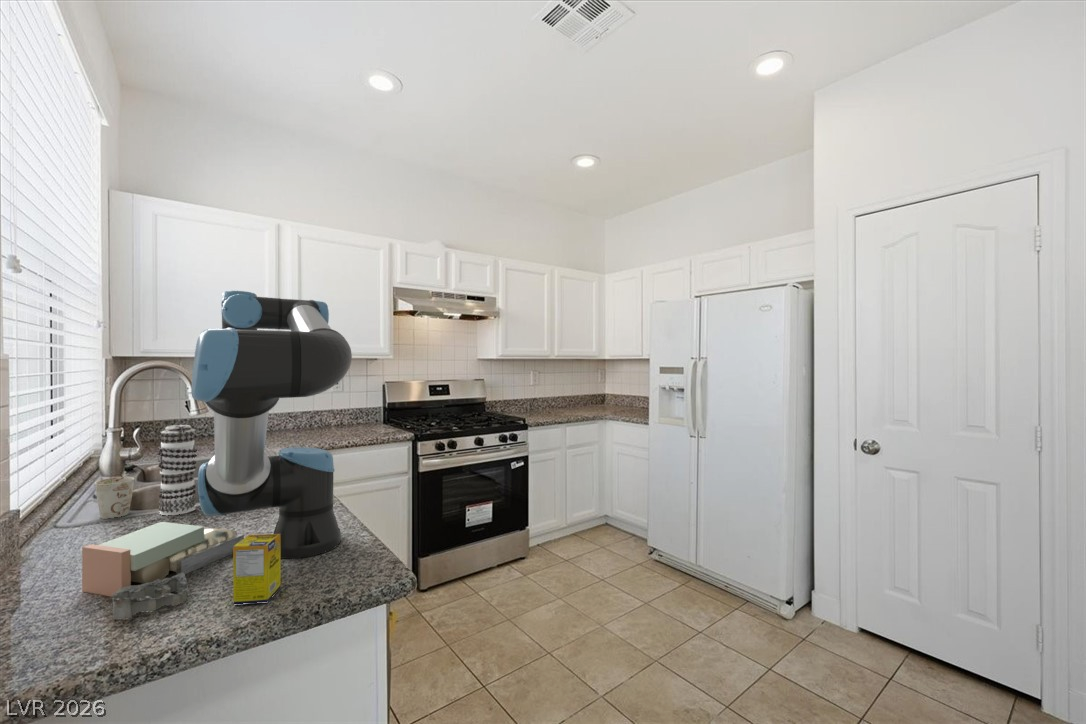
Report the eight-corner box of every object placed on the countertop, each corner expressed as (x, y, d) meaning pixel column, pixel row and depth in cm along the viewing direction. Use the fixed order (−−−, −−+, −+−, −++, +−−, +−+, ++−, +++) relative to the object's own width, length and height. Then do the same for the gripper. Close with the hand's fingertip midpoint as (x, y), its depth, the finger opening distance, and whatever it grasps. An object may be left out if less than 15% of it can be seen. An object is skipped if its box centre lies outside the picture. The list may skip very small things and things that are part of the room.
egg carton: (109, 625, 79) (109, 601, 79) (112, 607, 85) (112, 584, 85) (188, 604, 86) (188, 582, 86) (186, 589, 92) (186, 568, 92)
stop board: (130, 594, 89) (130, 549, 89) (121, 598, 88) (121, 552, 88) (91, 587, 92) (91, 544, 92) (82, 591, 90) (82, 547, 90)
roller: (174, 562, 97) (155, 554, 94) (158, 587, 94) (137, 580, 91) (141, 557, 100) (121, 549, 96) (124, 582, 97) (103, 575, 93)
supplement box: (281, 588, 92) (281, 532, 92) (267, 604, 86) (268, 544, 86) (248, 590, 91) (248, 534, 91) (232, 606, 85) (232, 546, 85)
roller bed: (243, 548, 111) (243, 526, 111) (178, 577, 96) (178, 552, 96) (198, 542, 115) (198, 521, 115) (128, 569, 100) (128, 545, 100)
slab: (204, 540, 103) (204, 526, 102) (135, 570, 89) (134, 555, 89) (162, 534, 106) (161, 521, 105) (88, 563, 92) (87, 548, 92)
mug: (100, 522, 128) (100, 485, 128) (85, 514, 135) (85, 479, 135) (139, 514, 135) (139, 479, 135) (122, 506, 142) (122, 473, 142)
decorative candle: (153, 511, 137) (154, 425, 137) (192, 504, 144) (192, 422, 144) (161, 518, 131) (161, 429, 131) (200, 510, 139) (201, 425, 138)
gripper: (228, 353, 110) (228, 453, 111) (273, 354, 123) (272, 444, 123) (203, 353, 112) (202, 452, 112) (249, 354, 125) (249, 443, 125)
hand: (239, 448), depth 118 cm, fingers closed
